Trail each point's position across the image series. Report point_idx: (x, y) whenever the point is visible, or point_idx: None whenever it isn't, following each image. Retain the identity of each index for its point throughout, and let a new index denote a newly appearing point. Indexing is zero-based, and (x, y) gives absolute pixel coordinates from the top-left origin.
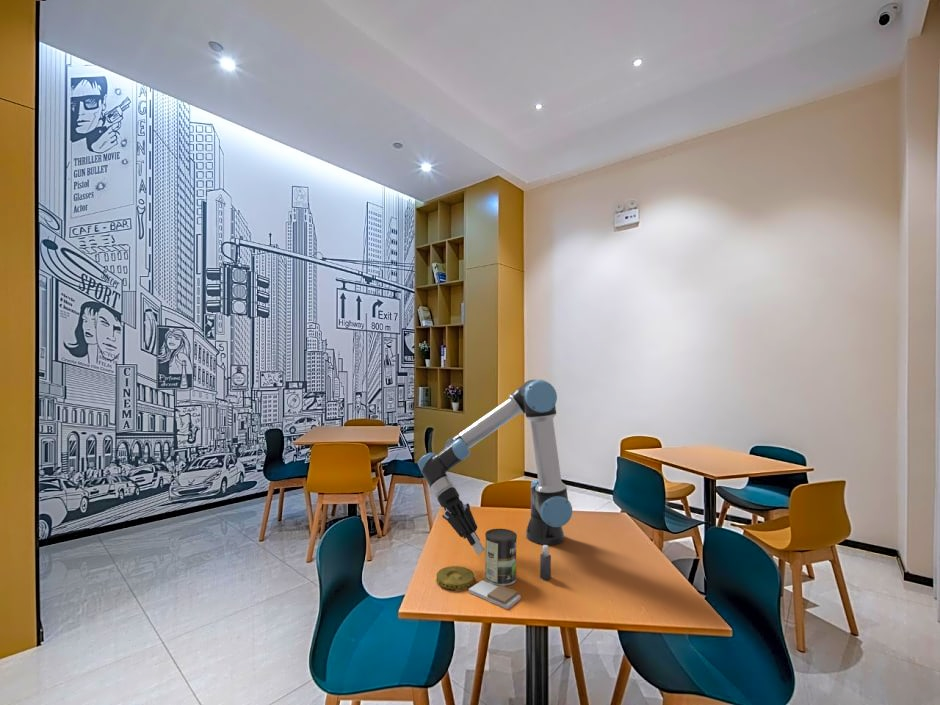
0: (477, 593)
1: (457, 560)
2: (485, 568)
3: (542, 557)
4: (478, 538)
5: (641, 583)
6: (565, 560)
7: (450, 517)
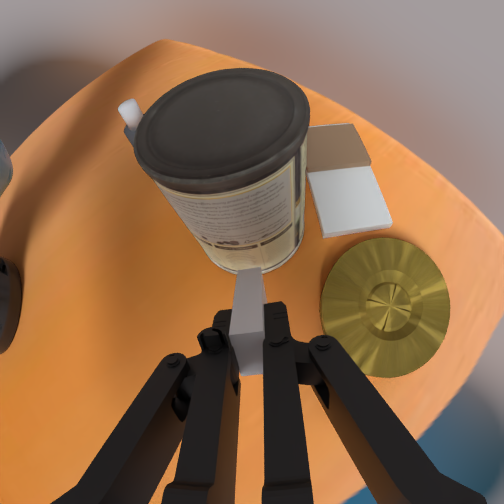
0: (381, 194)
1: None
2: (294, 236)
3: None
4: (218, 319)
5: (100, 97)
6: (66, 197)
7: (434, 474)
